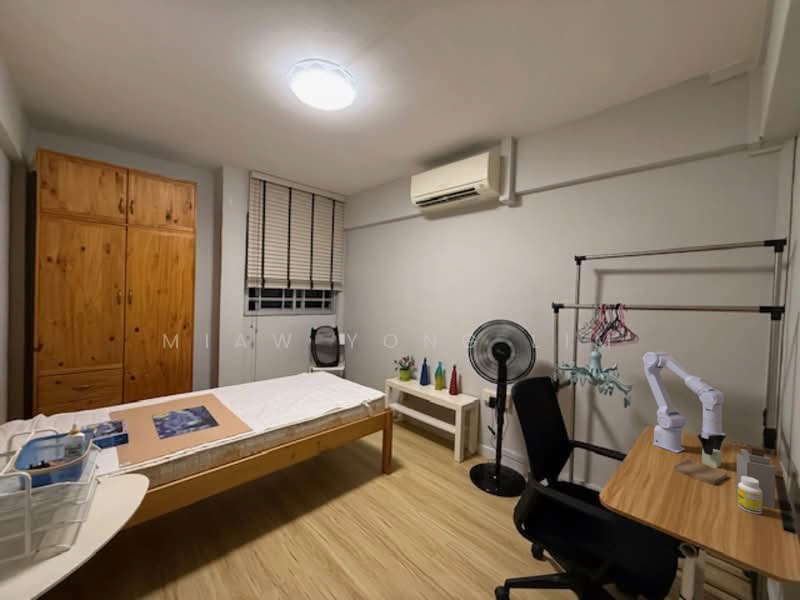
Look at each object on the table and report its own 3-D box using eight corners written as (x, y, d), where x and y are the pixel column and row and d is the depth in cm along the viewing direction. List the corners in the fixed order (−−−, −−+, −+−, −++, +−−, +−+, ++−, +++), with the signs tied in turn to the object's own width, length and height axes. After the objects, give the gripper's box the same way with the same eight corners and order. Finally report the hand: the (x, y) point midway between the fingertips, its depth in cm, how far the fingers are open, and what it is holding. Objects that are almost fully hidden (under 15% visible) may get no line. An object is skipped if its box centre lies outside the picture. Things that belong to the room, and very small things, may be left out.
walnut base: (674, 470, 129) (674, 466, 129) (687, 463, 135) (687, 459, 135) (714, 485, 118) (714, 481, 118) (727, 477, 124) (727, 473, 124)
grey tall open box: (736, 491, 115) (737, 441, 115) (762, 497, 112) (763, 445, 112) (746, 502, 108) (747, 448, 108) (774, 508, 105) (775, 453, 106)
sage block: (702, 463, 135) (702, 448, 135) (706, 460, 137) (706, 446, 137) (716, 468, 131) (716, 453, 131) (720, 465, 133) (721, 451, 133)
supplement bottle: (736, 501, 109) (736, 472, 109) (760, 508, 105) (760, 478, 105) (739, 509, 104) (739, 479, 104) (764, 517, 101) (764, 485, 101)
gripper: (718, 425, 127) (717, 460, 127) (732, 419, 134) (731, 452, 134) (695, 420, 133) (694, 452, 133) (709, 414, 140) (709, 445, 140)
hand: (711, 452), depth 134 cm, fingers open, 7 cm apart
